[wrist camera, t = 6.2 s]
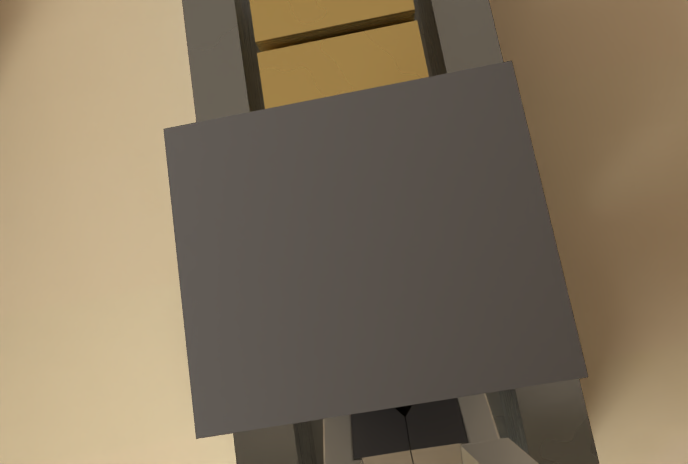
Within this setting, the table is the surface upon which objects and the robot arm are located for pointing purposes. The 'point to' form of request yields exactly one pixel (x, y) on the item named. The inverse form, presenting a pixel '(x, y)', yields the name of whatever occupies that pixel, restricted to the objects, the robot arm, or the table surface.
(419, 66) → the golden tan cube
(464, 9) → the slot bed
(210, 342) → the tall gray pillar
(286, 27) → the mustard yellow cube
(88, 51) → the table surface
